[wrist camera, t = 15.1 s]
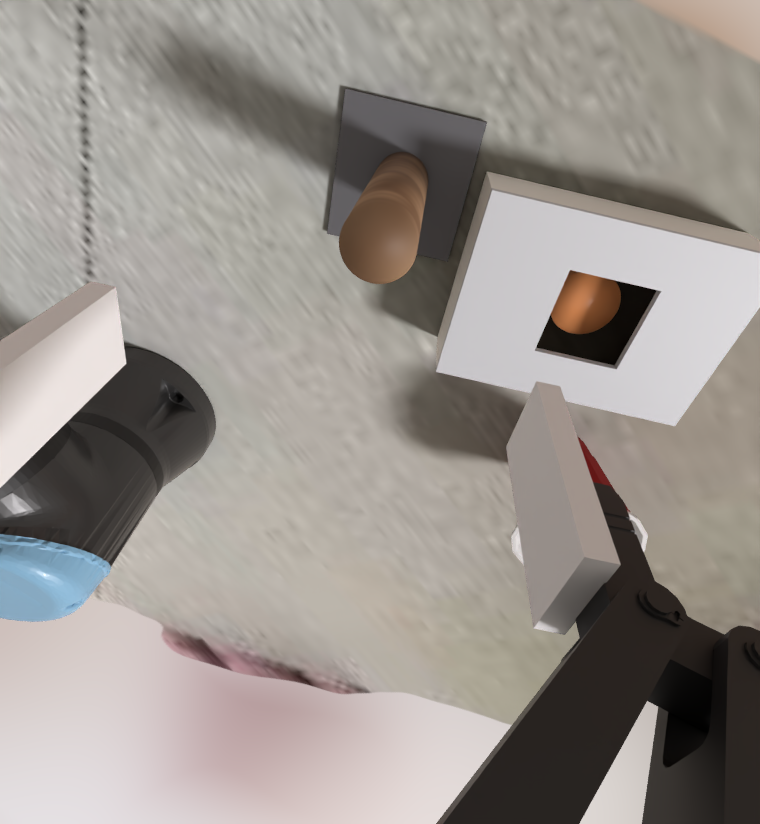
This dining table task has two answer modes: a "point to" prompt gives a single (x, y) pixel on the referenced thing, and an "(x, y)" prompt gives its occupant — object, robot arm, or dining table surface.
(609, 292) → the orange dome button
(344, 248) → the wooden rod
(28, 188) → the dining table surface
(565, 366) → the box
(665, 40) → the dining table surface
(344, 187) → the pad
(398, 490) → the dining table surface
